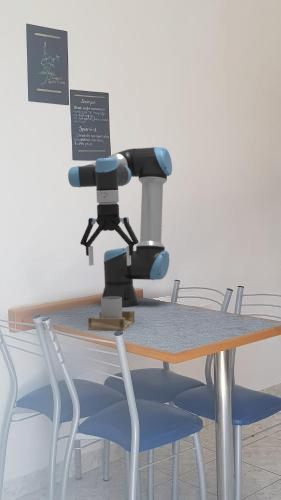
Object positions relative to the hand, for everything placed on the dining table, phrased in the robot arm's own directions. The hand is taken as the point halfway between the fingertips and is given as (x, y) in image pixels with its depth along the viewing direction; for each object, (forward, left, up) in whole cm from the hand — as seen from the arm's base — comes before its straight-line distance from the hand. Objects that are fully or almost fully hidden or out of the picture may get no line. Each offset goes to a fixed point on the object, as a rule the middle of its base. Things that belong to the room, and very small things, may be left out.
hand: (110, 265), depth 224 cm
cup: (+1, 0, -20) cm, 20 cm away
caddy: (+1, 0, -21) cm, 21 cm away
